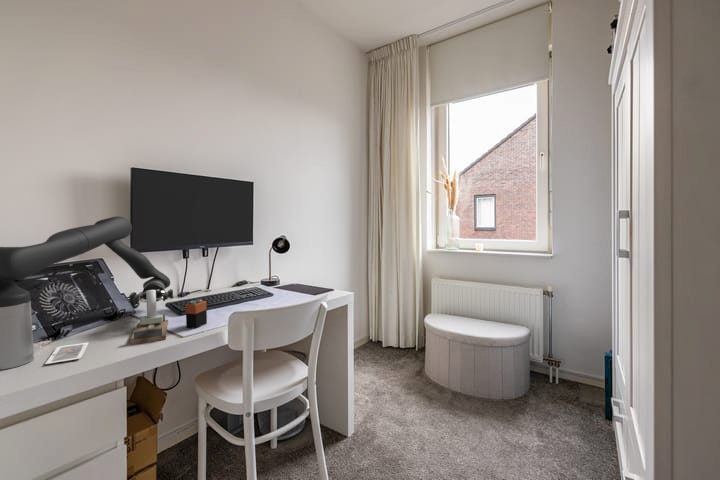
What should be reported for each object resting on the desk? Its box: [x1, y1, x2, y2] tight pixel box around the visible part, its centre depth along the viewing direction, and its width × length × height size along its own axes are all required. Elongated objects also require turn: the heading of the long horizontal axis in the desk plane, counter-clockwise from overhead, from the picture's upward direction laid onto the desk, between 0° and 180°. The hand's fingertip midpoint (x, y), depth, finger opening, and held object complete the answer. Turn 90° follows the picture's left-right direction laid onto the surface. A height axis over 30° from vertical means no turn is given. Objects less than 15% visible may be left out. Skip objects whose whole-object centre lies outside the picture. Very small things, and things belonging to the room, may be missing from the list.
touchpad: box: [44, 342, 90, 365], centre depth 103 cm, size 8×15×2 cm, turn 32°
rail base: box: [130, 313, 169, 345], centre depth 122 cm, size 10×20×4 cm, turn 28°
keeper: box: [139, 290, 163, 325], centre depth 127 cm, size 7×4×12 cm, turn 118°
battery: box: [185, 298, 208, 329], centre depth 130 cm, size 4×7×10 cm, turn 168°
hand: (150, 299), depth 125 cm, fingers open, 8 cm apart
